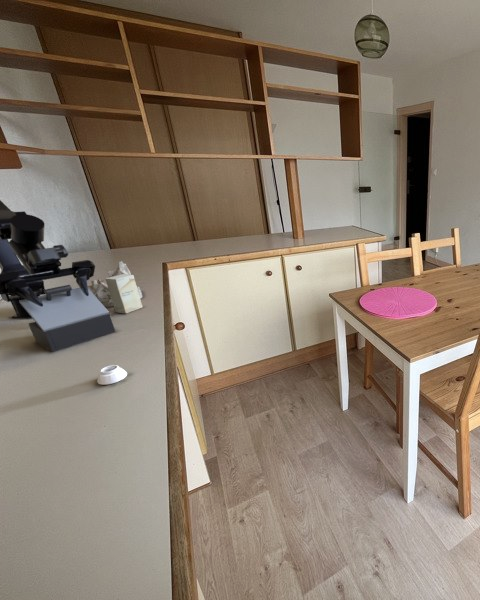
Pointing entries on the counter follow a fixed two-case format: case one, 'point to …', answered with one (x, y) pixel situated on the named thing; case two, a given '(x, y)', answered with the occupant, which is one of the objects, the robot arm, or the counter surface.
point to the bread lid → (63, 307)
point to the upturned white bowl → (111, 375)
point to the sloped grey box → (72, 332)
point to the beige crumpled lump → (102, 289)
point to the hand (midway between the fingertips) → (66, 300)
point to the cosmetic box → (124, 293)
